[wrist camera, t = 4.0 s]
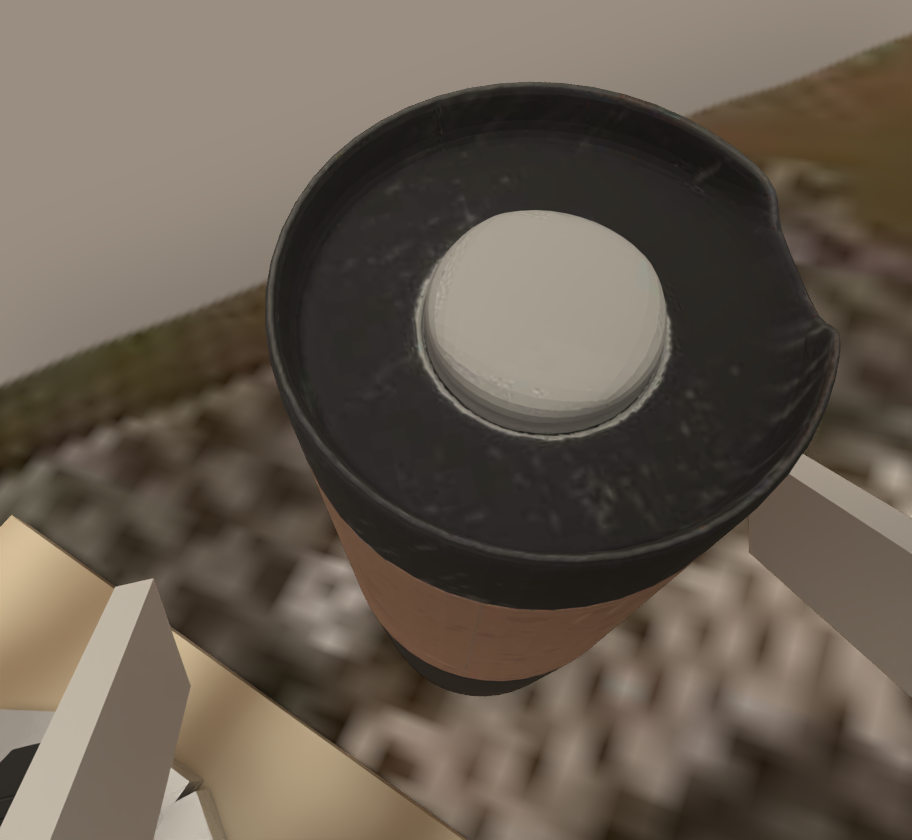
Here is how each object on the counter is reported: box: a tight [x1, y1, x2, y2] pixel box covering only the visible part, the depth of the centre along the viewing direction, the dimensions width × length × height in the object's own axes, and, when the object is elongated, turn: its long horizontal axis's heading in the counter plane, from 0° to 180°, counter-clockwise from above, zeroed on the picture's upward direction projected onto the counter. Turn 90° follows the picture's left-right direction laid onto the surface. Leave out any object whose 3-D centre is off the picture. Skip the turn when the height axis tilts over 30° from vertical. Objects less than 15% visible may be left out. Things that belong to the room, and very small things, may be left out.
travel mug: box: [265, 82, 840, 696], centre depth 19 cm, size 8×8×20 cm
